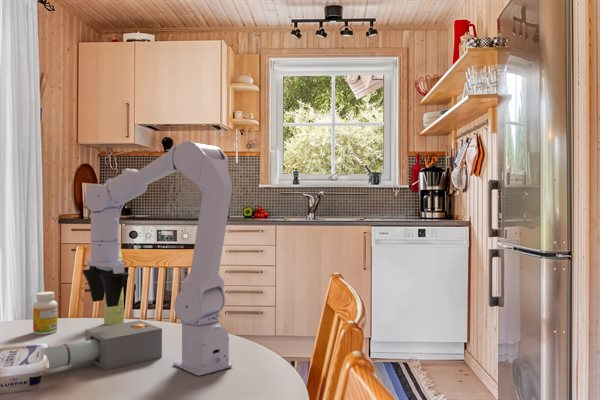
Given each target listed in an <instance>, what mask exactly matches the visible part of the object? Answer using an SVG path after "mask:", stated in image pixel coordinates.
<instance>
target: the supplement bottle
mask: <svg viewBox="0 0 600 400" xmlns="http://www.w3.org/2000/svg"><path fill="white" fill-rule="evenodd" d="M54 299H55V292H54V291H40V292H37V293H36V301H35V302H34V303H33V307H32V310H33V311H32V320H33V321H32V327H33V328H32V330H33V334H34V335H38V336H39V335H40V336H44V335H50V334H54V333H57V332H58V302H57V301H56V300H54Z"/></svg>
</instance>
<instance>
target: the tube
mask: <svg viewBox="0 0 600 400" xmlns="http://www.w3.org/2000/svg"><path fill="white" fill-rule="evenodd" d="M119 259H123V254H122V248H119ZM124 297H125V296H124V287H123V288H122V291H121V295H120V299H119V303H118V306H113V307H107V304H106V298H105V297H104V300H103V302H104V305H103V310H104V312H103V314H104V315H103V323H104V326H109V325H115V324H121V323H125V313H124V311H125V310H124V309H125V306H124V305H125V304H124V303H125V302H124Z"/></svg>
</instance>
